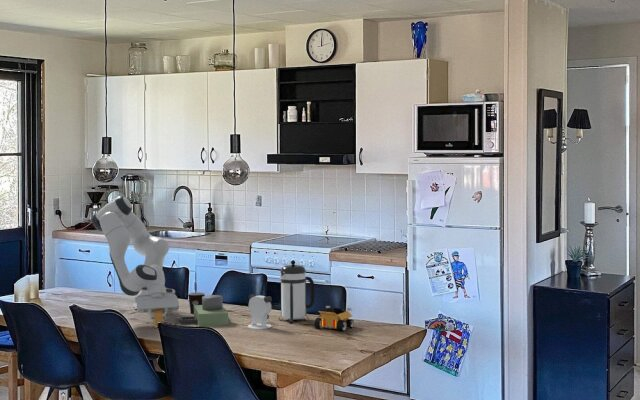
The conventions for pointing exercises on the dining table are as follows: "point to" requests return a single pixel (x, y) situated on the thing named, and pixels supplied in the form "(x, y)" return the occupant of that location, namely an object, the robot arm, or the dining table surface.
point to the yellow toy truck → (334, 319)
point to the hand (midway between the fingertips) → (158, 318)
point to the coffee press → (295, 292)
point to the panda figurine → (259, 311)
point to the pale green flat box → (208, 312)
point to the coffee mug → (195, 300)
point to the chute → (158, 317)
